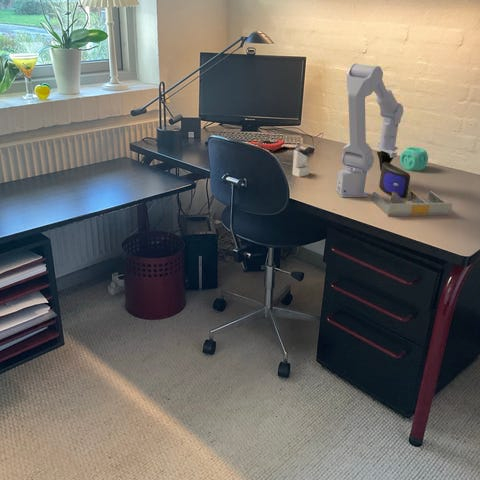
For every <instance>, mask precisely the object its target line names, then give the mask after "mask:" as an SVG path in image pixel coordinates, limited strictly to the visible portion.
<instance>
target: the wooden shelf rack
mask: <svg viewBox="0 0 480 480" xmlns="http://www.w3.org/2000/svg"><path fill="white" fill-rule="evenodd" d="M390 196H391V195H390ZM427 199H428V200H429V201H430V202H427V201H426V200H425V199H423V198H422V197H420V196H419V194H418V193H416V191H413V190H411V191H410V196H409V201H411V202H412V203H411V202H410V203H408V202H407V201H406V200H404V199H402V198H401V197H400V196H399V195H398V194H397V193H396V192H395V191H392V196H391V198H390V201H391V202H392V203H388V202H387V201H386V200H384V198H383V197H381V196H380V195H379V194H378V193H377V192H376V191H373V192H372V198H371V202H373V203H374V204H375V205H376V206H377V207H378V208H379V209H380V210H381V211H382V212H383V213H384V214H385V215H386V216H387V217H412V216H414V217H415V216H416V217H418V216H422V217H423V216H424V217H425V216H426V215H427V216H451V213H452V207H453V203H452V202H447V201H446V200H444V199H443V198H442V197H440V196H439V195H438V194H436V193H435V192H433V190H432V191H431V190H430V191H428V196H427Z"/></svg>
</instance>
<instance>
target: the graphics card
mask: <svg viewBox="0 0 480 480" xmlns="http://www.w3.org/2000/svg"><path fill="white" fill-rule="evenodd" d="M225 135H226V134H225ZM225 135H224V136H225ZM284 141H285V139H283V140H278V141H277V142H274V143H273V142H270V141H264V142H263V141H262V142H263V143H264V144H263V143H257V142H254V141H253V140H252V141H251V142H248V143H251V144H254V145H258V146H260V147H263V148H265V149H267V150H269V151H270V152H272V154H274V153H275V152H276V151H278V150H279V149H281V148H280V147H281V146H282V145H283V144H284V145H285V143H284ZM265 143H266V144H265ZM277 149H278V150H277ZM275 150H276V151H275ZM274 151H275V152H274ZM270 152H269V153H270Z"/></svg>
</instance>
